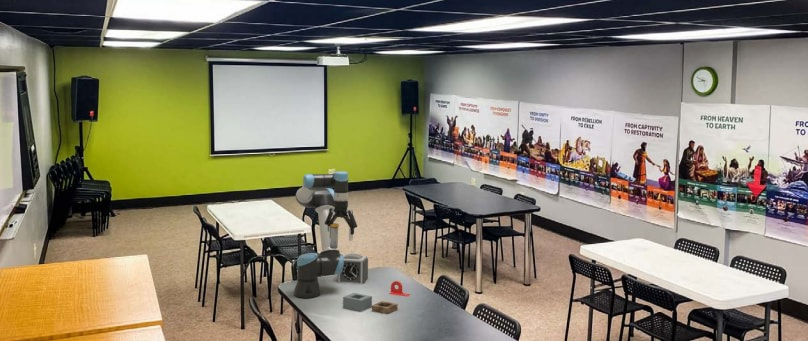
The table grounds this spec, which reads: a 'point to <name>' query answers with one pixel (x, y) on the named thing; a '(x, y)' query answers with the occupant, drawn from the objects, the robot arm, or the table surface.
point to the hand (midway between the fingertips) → (340, 239)
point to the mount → (384, 307)
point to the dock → (357, 302)
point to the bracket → (397, 291)
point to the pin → (334, 235)
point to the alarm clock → (354, 269)
